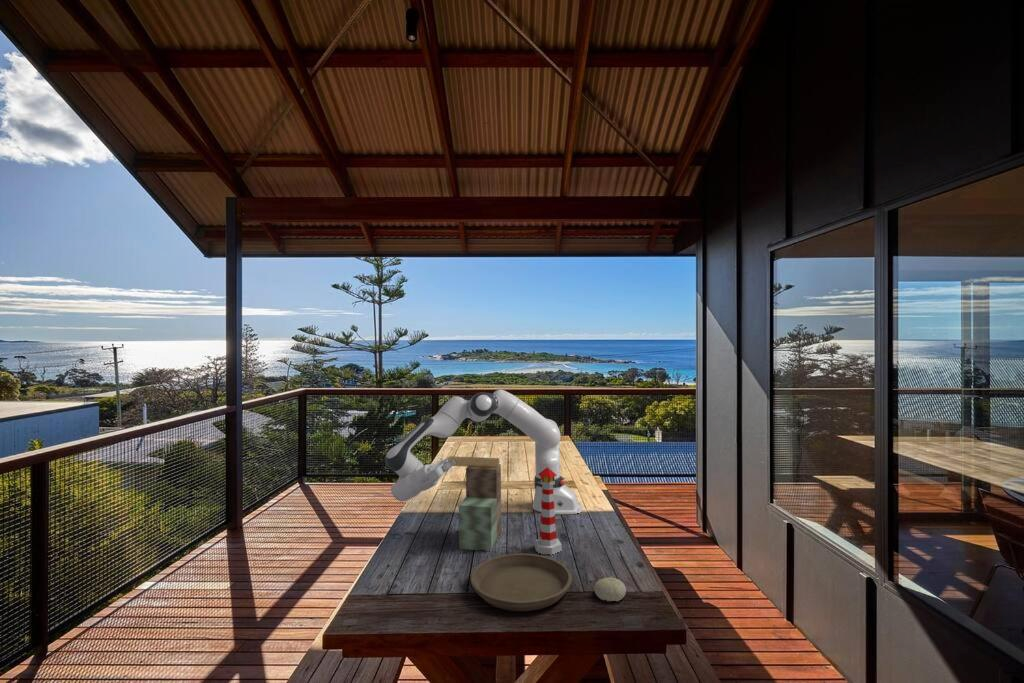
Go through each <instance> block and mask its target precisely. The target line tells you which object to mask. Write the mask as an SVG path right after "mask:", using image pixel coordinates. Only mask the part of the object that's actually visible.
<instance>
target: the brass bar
mask: <svg viewBox="0 0 1024 683" xmlns="http://www.w3.org/2000/svg"><path fill="white" fill-rule="evenodd" d="M447 458H448V463H449V462H451V461H452V460H455V461H456V464H455V465H453V466H452V467H466V468H467V467H491V468H498V467H499V464H500V458H499V457H480V456H479V457H477V456H475V457H474V456H456V455H455V456H451V455H450V456H448V457H447Z"/></svg>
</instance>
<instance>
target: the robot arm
mask: <svg viewBox="0 0 1024 683" xmlns="http://www.w3.org/2000/svg"><path fill="white" fill-rule="evenodd" d="M491 414H496V415H499V416H501V417H502V418H503V419H505V420H506V421H508V422H509V423H510V424H512V425H513V426H514V427H516V428H518V429H519V431H521V432H523V433H524V434H525V435H526V436H527V437H529V438H530V440H532V441H533V442H534V450H535V451H534V453H535V474H534V475H535V476H534V478H533V479H534V480H533V482H534V483H533V484H534V485H533V486H534V497H533V501H532V505H531V506H532V507H531V508H532V510H534V511H536V512H540V513H541V502H542V484H541V477H540V476H539V473H540V472H542V471H543V470H544V469H546V468H547V467H548V468H549V469H550V470H552V471H553V472H554V473H555V474H556V475H557V476H554V481H555V484H554V485H553V495H554V510H555V515H578V514H577V513H579V514H580V513H581V512H582V511H583V505H582V503H581V502H579V501H578V498H577V494H576V493H575V491H573V490H572V489H570V487H568V486H567V485H566V484H565V483H566V481H565V476H561V456H560V442H561V436H562V435H561V431H560V429H559V426H558V424H557V422H556V421H554V420H553V419H550V418H546V417H544V416H543V415H542V414H540V413H539V412H538V411H537V410H535V408H533V407H532V406H531V405H529V404H527V403H526V402H525V401H523V400H522V399H520V398H518V397H517V396H515V395H514V394H512V393H510V392H508V391H506V390H504V389H497V390H495V391H494V392H493V393H491V392H484V391H483V392H482V391H481V392H477V393H475V394H474V395H472V397H471V398H470V400H469V399H468V400H467V399H464V398H463V397H461V396H456V395H455V396H452V397H451V398H449V399H448V400H447V401H446V402H445V403H444V404H443V405H442V406H441V408H440V409H439V410H438V411H437V413H436V414H434V416H431V417H427V418H424V419H422V420H421V421H420V422H419V423H418V424H416V425H415V427H413V428H412V429H411V430H410V431H409V432H408V433H407V434H406V435H405V436H404V437H403V438H402V439H401V440H400V441H399V442H398V443H396V444H395V445H394V446H392V447H391V448H390V449H389V450H388V451H387V452H386V454H385V466H386V467H387V468H388V469H389V470H391V471H393V472H394V473H396V474H397V475H398V476H399V477H398V479H397V480H396V481H395V483H393V484H392V485H391V486H390V491H391V494H392V496H393V497H394V498H395V499H396V500H397V501H399V502H406V501H409V500H411V499H413V498H414V497H416V496H419V495H420V493H421V492H425V491H427V490H430V489H431V488H433V487H435V486H436V485H437V484H438V482H439V480H440V478H441V477H442V476H444V475H445V474H446V473H447V472H448V471H449V470H451V469H452V468H453V467H454V466H453V465H455V464H456V461H455V460H452V461H451V462H449V463H448V457H446V458H444V459H442V460H440V461H437V462H432V463H431V464H430V463H428V464H423V463H422V462H421V461H420V459H419V458H417V457H416V456H414V455H413V453H411V450H412V448H413V447H415V446H416V445H417V443H419V442H420V441H421V439H423V437H424V438H425V436H428V435H429V436H430V435H431V436H433V437H437V438H439V439H441V438H442V439H444V438H449V437H451V436H453V434H455V432H456V431H457V430H458V428H459V427H460V426H461V424H462V423H463V421H465V420H466V421H470V422H471V423H476V424H479V423H483V422H484V421H486V420H487V419H488V418H489V417H490V416H491Z"/></svg>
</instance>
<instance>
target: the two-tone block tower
mask: <svg viewBox="0 0 1024 683" xmlns="http://www.w3.org/2000/svg"><path fill="white" fill-rule="evenodd" d="M501 464H502V463H501ZM501 464H500V463H499V467H498V468H491V467H466V468H465V497H464V499H463V500H462V501H461V502H460V503H459V505H458V541H459V542H458V549H459V550H467V549H468V551H481V550H492V551H493V549H492V548H494V547H495V545H496V543H497V541H498V539H499V537H500V536H499V535H501V534H502V470H501V468H502V465H501ZM500 533H501V534H500ZM494 544H495V545H494ZM493 546H494V547H493Z"/></svg>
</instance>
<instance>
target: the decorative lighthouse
mask: <svg viewBox="0 0 1024 683" xmlns="http://www.w3.org/2000/svg"><path fill="white" fill-rule="evenodd" d="M539 476H540V477H541V484H542V502H541V512H540V521H539V522H540V523H539V539H535V540H534V541H533V543H534V547H535V548H534V549H535V551H536V552H538V553H537V554H539V553H541V555H546V554H550V555H549V556H553V555H552V554H554V555H556V554H558V553H557V552H559V553H560V551H561V552H563V548H562V546H563V544H562V543H561V541H560V539H559V538H557V528H556V526H557V525H556V514H555V510H554V495H553V485H554V484H555V481H554V476H557V475H556V474H555V473H554V472H553V471H552V470H550V469H549V468H548V467H547V468H546V469H544V470H543V471H542V472H540V473H539ZM555 553H556V554H555Z"/></svg>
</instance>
